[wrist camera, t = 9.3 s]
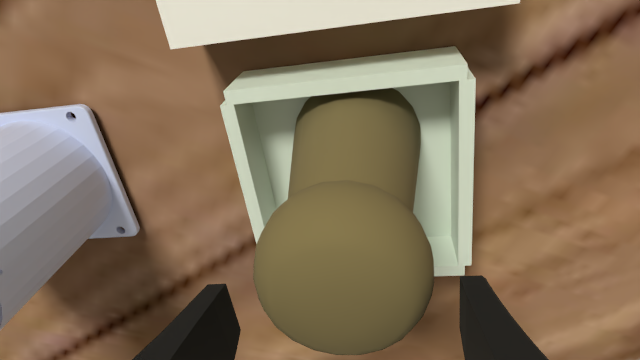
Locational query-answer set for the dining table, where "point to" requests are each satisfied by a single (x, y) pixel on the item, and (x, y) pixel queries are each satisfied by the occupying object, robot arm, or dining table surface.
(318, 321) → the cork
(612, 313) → the dining table surface
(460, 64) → the tray
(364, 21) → the holder
